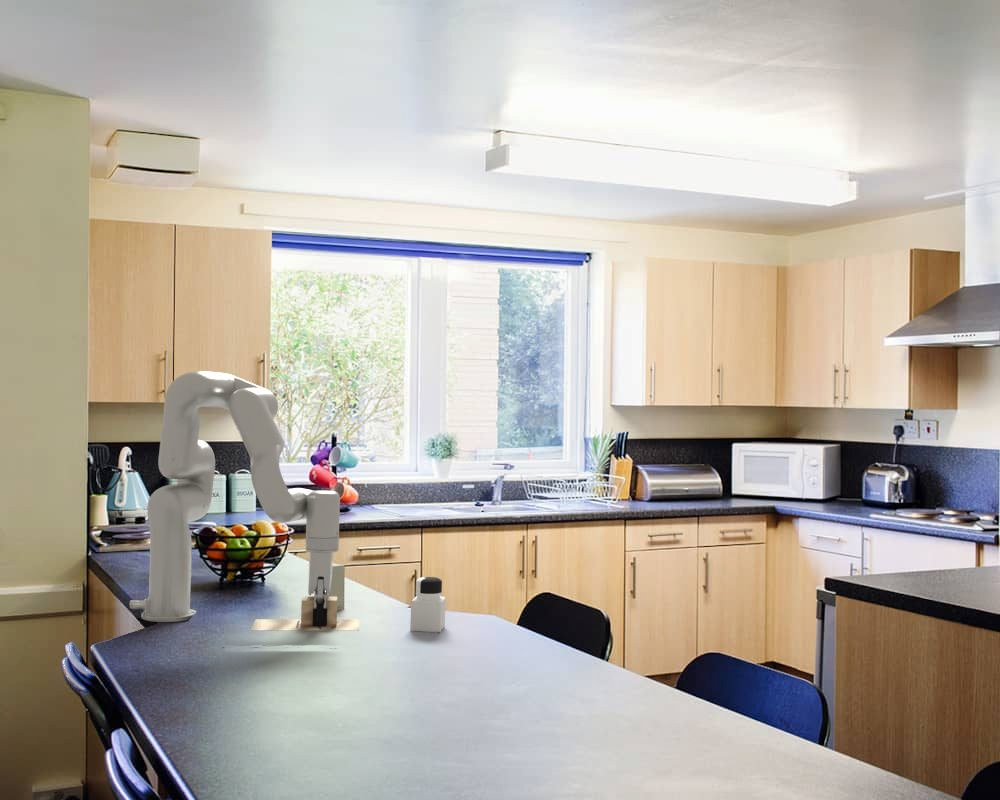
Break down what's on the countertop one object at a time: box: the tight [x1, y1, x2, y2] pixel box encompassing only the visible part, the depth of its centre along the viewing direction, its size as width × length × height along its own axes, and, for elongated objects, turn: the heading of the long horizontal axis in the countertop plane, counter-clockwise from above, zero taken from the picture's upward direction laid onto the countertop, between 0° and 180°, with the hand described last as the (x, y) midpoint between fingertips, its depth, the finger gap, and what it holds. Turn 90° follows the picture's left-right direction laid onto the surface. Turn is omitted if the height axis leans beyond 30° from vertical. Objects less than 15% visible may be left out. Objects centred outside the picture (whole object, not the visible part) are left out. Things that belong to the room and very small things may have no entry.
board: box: [250, 618, 360, 631], centre depth 242 cm, size 24×12×1 cm, turn 98°
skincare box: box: [327, 562, 345, 611], centre depth 263 cm, size 6×4×12 cm
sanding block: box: [300, 595, 338, 627], centre depth 242 cm, size 8×5×6 cm, turn 98°
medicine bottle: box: [409, 576, 447, 633], centre depth 247 cm, size 7×7×12 cm
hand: (320, 622), depth 242 cm, fingers closed on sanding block, 5 cm apart
